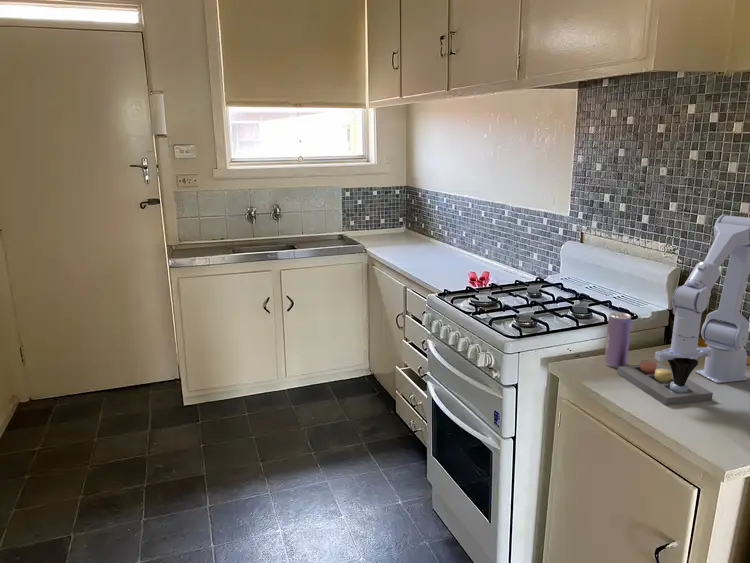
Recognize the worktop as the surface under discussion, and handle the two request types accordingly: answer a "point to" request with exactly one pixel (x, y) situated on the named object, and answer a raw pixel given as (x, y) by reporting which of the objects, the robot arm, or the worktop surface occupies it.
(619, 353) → the beverage can
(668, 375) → the ochre button
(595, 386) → the worktop surface
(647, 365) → the brick button
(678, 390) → the slate button
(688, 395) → the panel
